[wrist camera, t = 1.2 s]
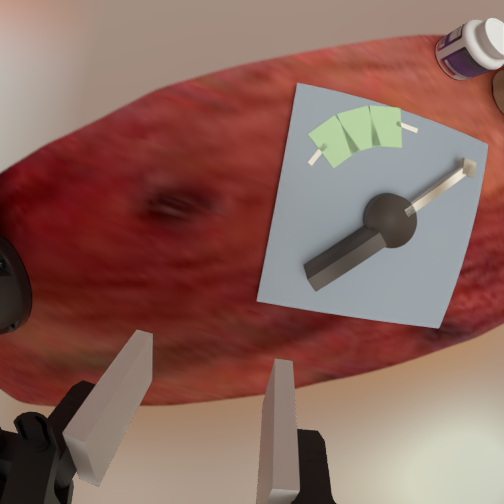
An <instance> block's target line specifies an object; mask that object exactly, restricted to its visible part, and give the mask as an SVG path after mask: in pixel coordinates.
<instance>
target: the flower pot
mask: <svg viewBox="0 0 504 504" xmlns="http://www.w3.org/2000/svg"><path fill="white" fill-rule="evenodd" d="M492 83H493V96H494V99H495V101H496V104H497V105H498V107H499V109H500V110H501V111H502V113H503V114H504V70H502V71H500V72H498V73H497V74H496V75H495V76H494V78H493V82H492Z"/></svg>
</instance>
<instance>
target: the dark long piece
mask: <svg viewBox="0 0 504 504" xmlns="http://www.w3.org/2000/svg"><path fill="white" fill-rule="evenodd" d="M475 168H476V162H473V161H471V160H468V159H466V158H462V159H461V165H460V168H459V169H458V170H456V171H455V172H454V173H452V174H451V175H449V176H448V177H447V178H445V179H444V180H443V181H441V182H440V183H438V184H437V185H436V186H434V187H433V188H431V189H430V190H429V191H427V192H426V193H424V194H423V195H421V196H420V197H419V198H417V199H416V200H414V201H413V202H411V203H410V202H409V201H408V200H407V199H406V198H404V197H401V196H398V195H395V194H392V193H383V194H379V195H377V196H375V197H374V198H372V199H371V200H370V201H369V203H368V204H367V206H366V208H365V211H364V215H363V224H364V226H363V227H361V228H360V229H358V230H357V231H355V232H354V233H352V234H351V235H349V236H348V237H346V238H345V239H343V240H342V241H340V242H338V243H337V244H335V245H334V246H332V247H331V248H329V249H328V250H326V251H325V252H323V253H322V254H320V255H319V256H317V257H315V258H314V259H312V260H311V261H309V262H308V263H306V264H305V265H303V266H304V270H305V273H306V277H307V280H308V282H309V283H310V285H311V286H312V288H313V289H314V291H315V292H317V291H318V290H320V289H321V288H323V287H325V286H326V285H328V284H329V283H331V282H333V281H334V280H336V279H337V278H339V277H340V276H342V275H343V274H345V273H347V272H348V271H350V270H351V269H353V268H354V267H356V266H357V265H359V264H360V263H362V262H363V261H365V260H366V259H368V258H369V257H371V256H372V255H374V254H375V253H377V252H378V251H380V250H381V249H383V248H384V247H385V248H398V247H401V246H403V245H405V244H406V243H407V242H408V241H409V240H410V239H411V238H412V237H413V235H414V233H415V231H416V227H417V214H416V211H418V210H419V209H421V208H422V207H423V206H425V205H426V204H428V203H429V202H430V201H432V200H433V199H435V198H436V197H437V196H439V195H440V194H441V193H443V192H444V191H446V190H447V189H448V188H450V187H451V186H452V185H454V184H455V183H456V182H458V181H459V180H461V179H462V178H463V177H465V176H468V177H471V178H474V174H475Z"/></svg>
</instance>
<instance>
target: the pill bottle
mask: <svg viewBox="0 0 504 504" xmlns="http://www.w3.org/2000/svg"><path fill="white" fill-rule="evenodd" d="M436 58H437V61H438V63H439V65H440V66H441V68H442V69H443V70H444V72H445V73H446V74H448V75H449V76H450V77H452V78H454V79H457V80H466V79H470V78H472V77H475V76H478V75H481V74H484V73H487V72H490V71H493V70H496V69H498V68H500V67H501V66H502V65H503V64H504V23H502V22H501V21H500V20H498V19H495V18H489V19H487V20H485V21H480V20H471V21H469V22H467V23H465V24H463V25H462V26H460V27H459V28H457V29H456V30H454V31H452V32H451V33H449V34H448V35H446V36H445V37H443V38H442V39H441V40H440V41H439V42H438V43H437V45H436Z"/></svg>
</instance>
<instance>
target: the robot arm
mask: <svg viewBox="0 0 504 504" xmlns="http://www.w3.org/2000/svg"><path fill="white" fill-rule="evenodd" d="M31 304H32V298H31V289H30V284H29V280H28V277H27V273H26V271H25V268H24V266H23V264H22V262H21V260H20V258H19V256H18V254H17V253H16V251H15V250H14V248H13V247H12V246H11V245H10V243H9V242H8V241H7V240H5V239H4V238H3V237H2V236H0V335H1V334H5V333H9V332H12V331H14V330H16V329H17V328H19V327H20V326H21V325H23V324H24V323H25V322H26V321H27V319H28V317H29V315H30V311H31ZM152 344H153V334H152V333H148V332H144V331H140V330H136V331H135V333H134V334H133V335H132V337H131V338H130V339H129V341H128V342H127V343H126V345H125V346H124V347H123V349H122V350H121V351H120V353H119V354H118V355H117V357H116V358H115V359H114V361H113V362H112V364H111V365H110V366H109V368H108V369H107V370H106V372H105V373H104V375H103V376H102V377H101V379H100V380H99V381H98V383H97V384H96V385H95V384H92V383H89V382H87V381H84V380H83V381H81V382H79V383H77V384H75V385H74V386H72V387H71V389H70V390H69V391H68V393H67V394H66V396H64V398H63V399H62V400H61V403H59V404H58V405H57V407H56V408H55V409H54V411H53V412H52V413H51V415H50V416H49V417H48V418H46V417H45V416H44V415H42V414H40V413H37V412H26V413H22V414H21V415H19V416H17V418H16V419H15V420H14V424H15V427H16V429H17V431H18V433H13V432H9V431H4V430H2V429H1V427H0V504H71V502H72V495H73V488H74V485H73V480H72V478H73V476H74V475H75V473H76V472H77V474H78V476H79V479H81V480H83V481H86V482H88V483H91V484H93V485H95V486H98V487H99V485H100V483H101V481H102V479H103V477H104V475H105V473H106V471H107V469H108V467H109V465H110V462H111V461H112V459H113V457H114V455H115V452H116V451H117V449H118V447H119V445H120V443H121V441H122V439H123V437H124V435H125V433H126V431H127V429H128V427H129V424H130V423H131V421H132V419H133V417H134V415H135V413H136V411H137V409H138V407H139V405H140V403H141V401H142V399H143V397H144V395H145V393H146V391H147V390H148V388H149V386H150V384H151V382H152ZM295 407H296V406H295V390H294V376H293V362H292V361H288V360H281V359H275V360H274V364H273V368H272V372H271V375H270V379H269V383H268V387H267V390H266V394H265V398H264V401H263V409H262V426H261V441H260V455H259V471H258V485H257V499H256V504H336V503H335V501H334V500H333V497H332V494H331V485H330V477H329V469H328V463H327V455H326V447H325V441H324V439H323V438H322V436H321V435H320V433H319V432H318V431H315V430H302V429H297V422H296V408H295Z"/></svg>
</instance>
